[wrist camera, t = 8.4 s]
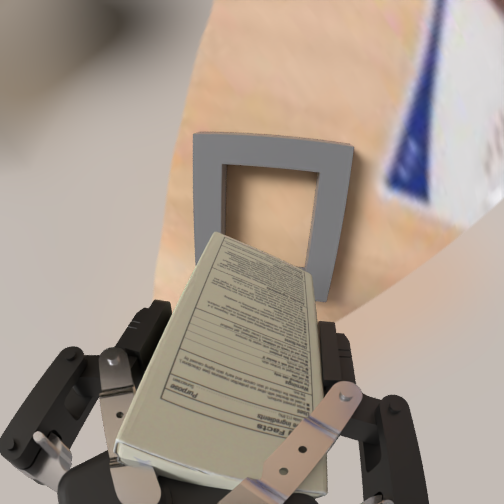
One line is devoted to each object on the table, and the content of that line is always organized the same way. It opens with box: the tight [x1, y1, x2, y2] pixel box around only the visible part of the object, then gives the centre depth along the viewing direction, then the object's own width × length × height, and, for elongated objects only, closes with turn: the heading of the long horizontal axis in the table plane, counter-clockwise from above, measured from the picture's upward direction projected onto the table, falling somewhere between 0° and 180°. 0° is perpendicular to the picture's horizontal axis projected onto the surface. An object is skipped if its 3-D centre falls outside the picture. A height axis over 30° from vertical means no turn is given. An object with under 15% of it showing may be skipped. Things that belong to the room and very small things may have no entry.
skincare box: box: [113, 232, 328, 499], centre depth 12 cm, size 6×4×12 cm
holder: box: [193, 132, 354, 302], centre depth 27 cm, size 13×15×2 cm
